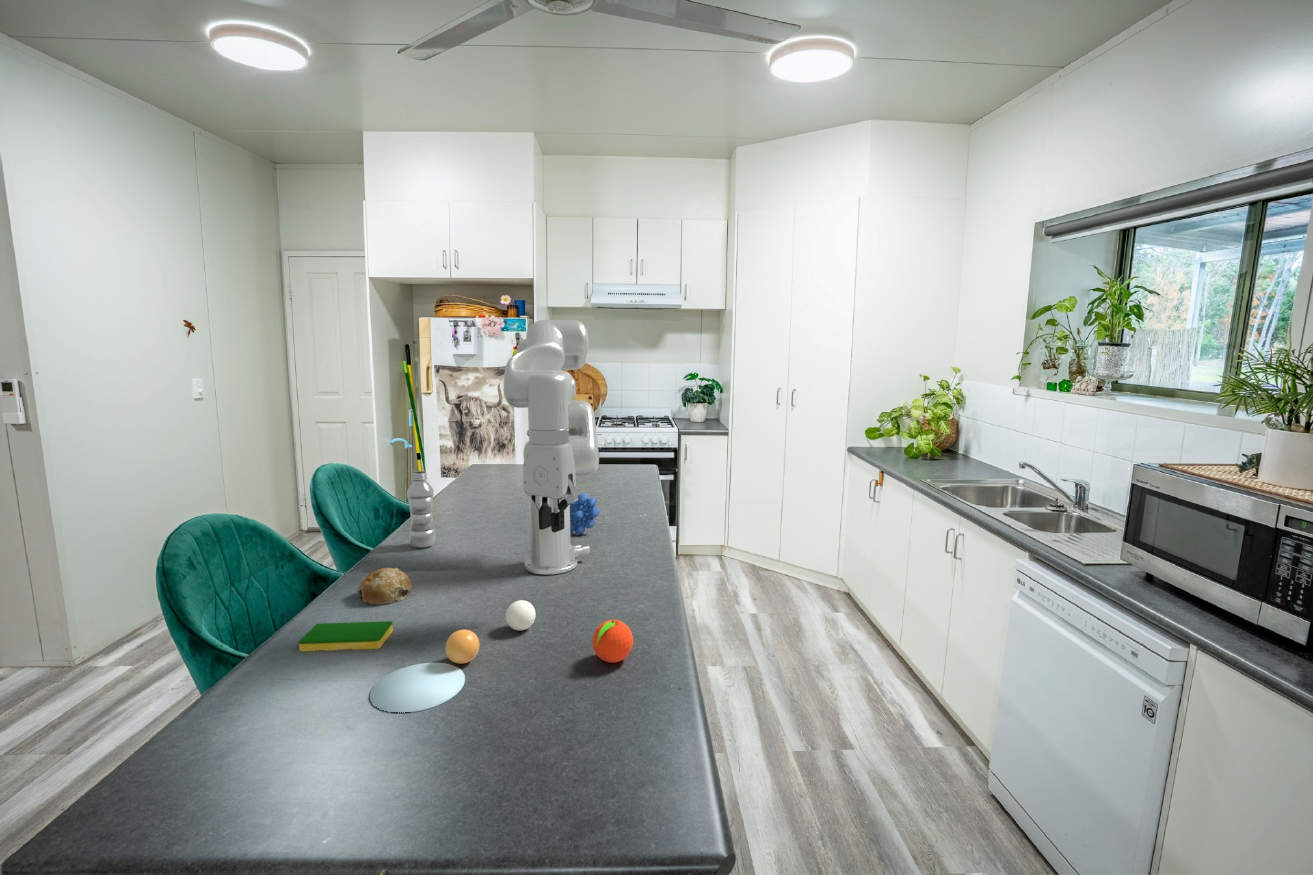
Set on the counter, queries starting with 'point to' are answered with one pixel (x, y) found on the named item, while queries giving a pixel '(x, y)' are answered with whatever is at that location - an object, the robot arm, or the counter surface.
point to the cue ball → (520, 615)
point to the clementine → (612, 641)
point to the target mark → (417, 687)
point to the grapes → (582, 514)
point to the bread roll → (384, 586)
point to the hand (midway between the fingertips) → (551, 528)
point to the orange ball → (462, 646)
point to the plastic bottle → (421, 511)
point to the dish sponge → (346, 636)
